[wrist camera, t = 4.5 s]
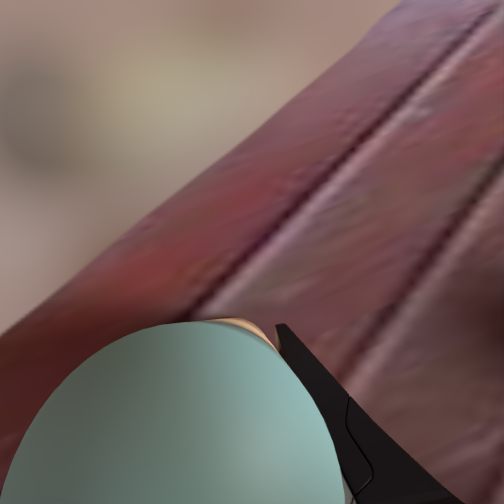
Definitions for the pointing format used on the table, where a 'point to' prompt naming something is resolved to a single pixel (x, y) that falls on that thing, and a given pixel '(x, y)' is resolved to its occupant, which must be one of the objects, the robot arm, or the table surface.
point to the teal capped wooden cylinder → (179, 426)
